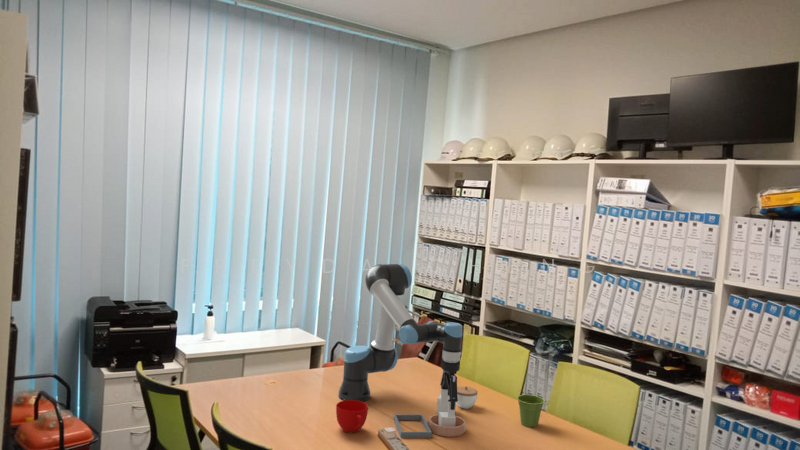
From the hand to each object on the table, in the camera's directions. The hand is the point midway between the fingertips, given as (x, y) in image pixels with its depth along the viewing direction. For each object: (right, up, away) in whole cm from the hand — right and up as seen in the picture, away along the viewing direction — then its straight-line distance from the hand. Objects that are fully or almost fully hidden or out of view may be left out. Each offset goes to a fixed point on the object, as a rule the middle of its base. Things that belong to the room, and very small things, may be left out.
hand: (447, 410), depth 243 cm
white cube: (0, -8, 0) cm, 8 cm away
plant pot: (+37, -10, +12) cm, 40 cm away
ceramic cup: (-39, -6, -8) cm, 40 cm away
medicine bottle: (+1, -8, +20) cm, 22 cm away
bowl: (0, -8, 0) cm, 8 cm away
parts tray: (-15, -7, -1) cm, 16 cm away
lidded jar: (+11, -8, +30) cm, 33 cm away
